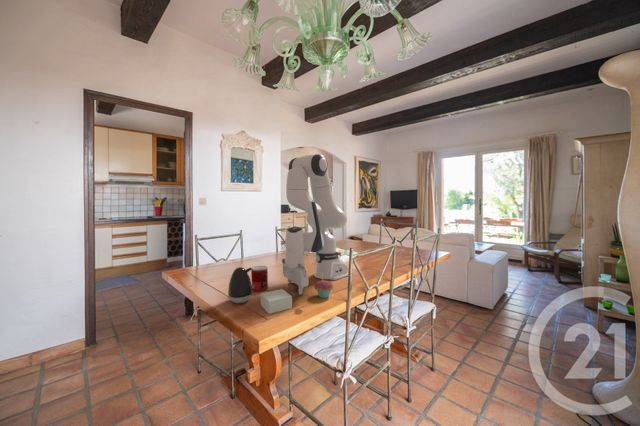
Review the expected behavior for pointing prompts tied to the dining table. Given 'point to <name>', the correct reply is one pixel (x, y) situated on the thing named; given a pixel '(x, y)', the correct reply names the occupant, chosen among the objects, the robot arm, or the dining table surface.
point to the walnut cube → (293, 289)
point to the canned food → (259, 278)
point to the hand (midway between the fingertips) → (295, 290)
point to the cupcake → (323, 288)
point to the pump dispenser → (240, 286)
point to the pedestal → (276, 301)
